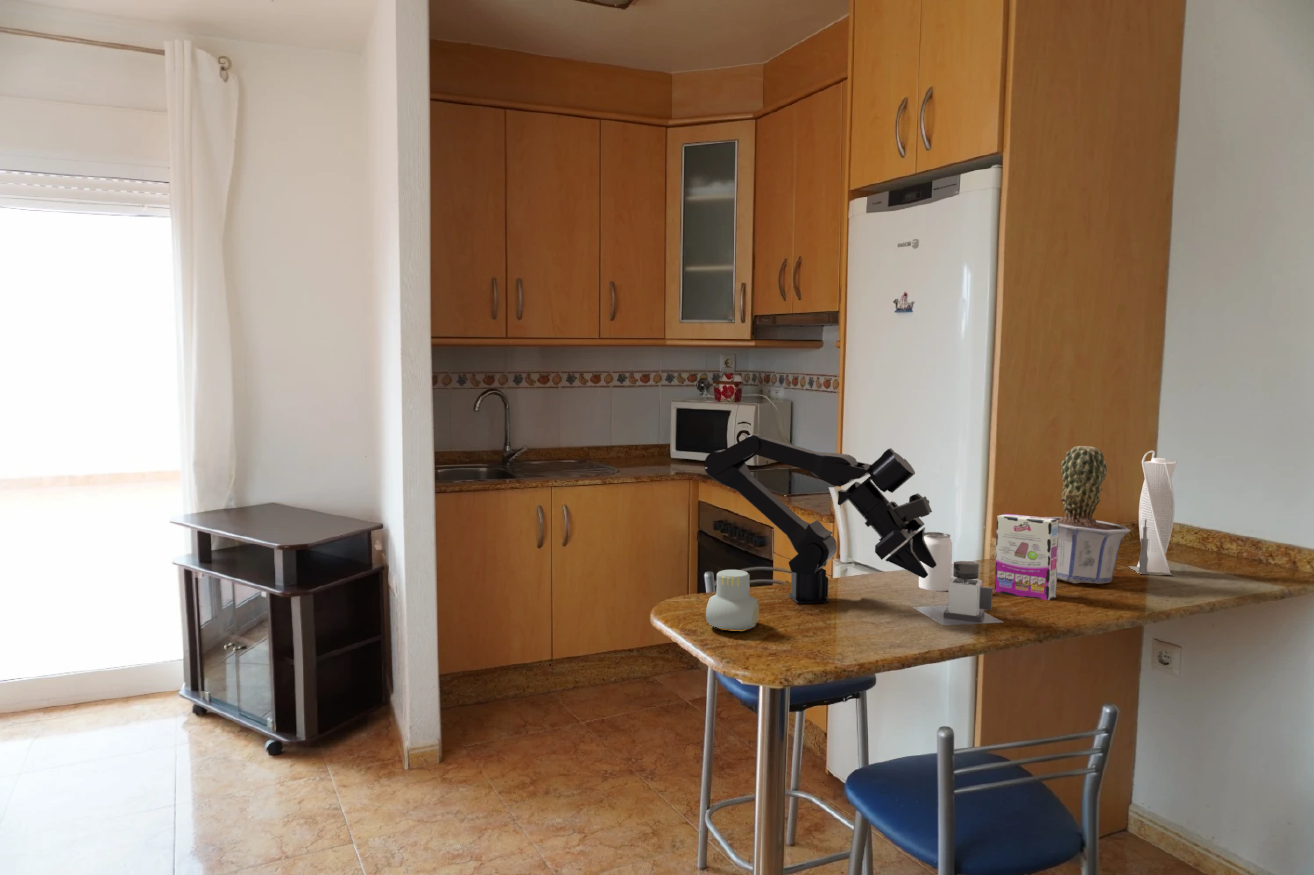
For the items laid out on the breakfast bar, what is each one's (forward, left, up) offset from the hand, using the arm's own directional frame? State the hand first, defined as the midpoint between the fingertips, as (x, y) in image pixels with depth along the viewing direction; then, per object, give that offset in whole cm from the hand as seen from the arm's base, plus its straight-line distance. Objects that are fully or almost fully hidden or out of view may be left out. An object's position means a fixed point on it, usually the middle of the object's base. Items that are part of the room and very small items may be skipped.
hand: (930, 571), depth 166 cm
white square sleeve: (+5, -4, -8) cm, 10 cm away
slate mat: (+4, -3, -8) cm, 10 cm away
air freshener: (-39, -2, -9) cm, 40 cm away
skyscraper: (+69, +26, -9) cm, 74 cm away
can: (+10, +17, -9) cm, 22 cm away
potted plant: (+47, +21, -9) cm, 52 cm away
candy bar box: (+27, +11, -9) cm, 31 cm away
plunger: (+5, -4, -5) cm, 8 cm away
